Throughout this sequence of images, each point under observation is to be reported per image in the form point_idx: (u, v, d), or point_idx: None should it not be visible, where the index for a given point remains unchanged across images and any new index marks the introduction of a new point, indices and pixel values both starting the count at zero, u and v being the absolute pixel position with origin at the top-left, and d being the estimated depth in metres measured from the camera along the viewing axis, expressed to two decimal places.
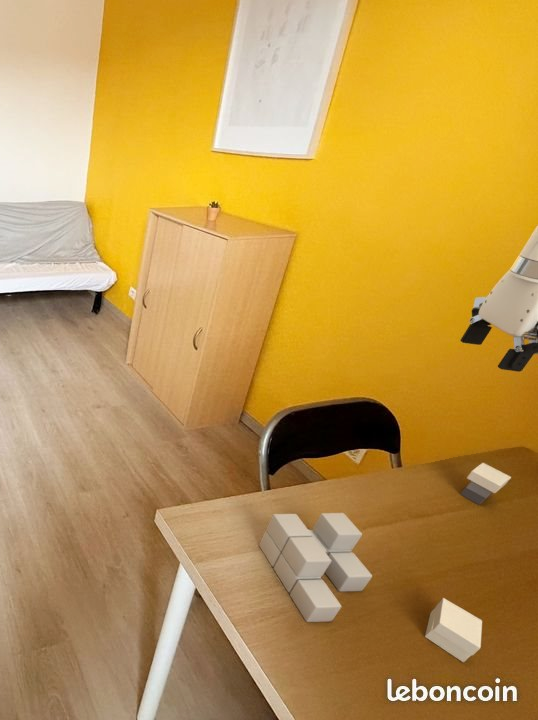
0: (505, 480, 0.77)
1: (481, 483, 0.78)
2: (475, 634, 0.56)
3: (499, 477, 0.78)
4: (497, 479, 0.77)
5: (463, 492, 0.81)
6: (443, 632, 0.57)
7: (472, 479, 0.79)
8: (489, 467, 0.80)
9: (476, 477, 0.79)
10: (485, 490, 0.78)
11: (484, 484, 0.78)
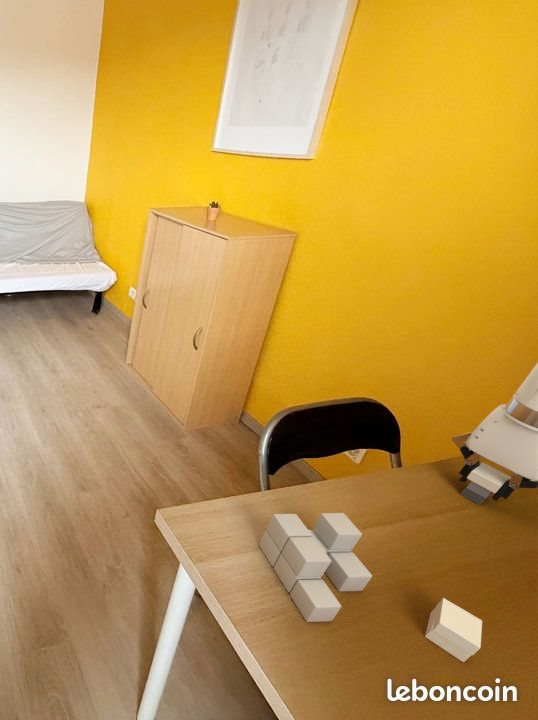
0: (505, 480, 0.77)
1: (481, 483, 0.78)
2: (475, 634, 0.56)
3: (499, 477, 0.78)
4: (497, 479, 0.77)
5: (463, 492, 0.81)
6: (443, 632, 0.57)
7: (472, 479, 0.79)
8: (489, 467, 0.80)
9: (476, 477, 0.79)
10: (485, 490, 0.78)
11: (484, 484, 0.78)
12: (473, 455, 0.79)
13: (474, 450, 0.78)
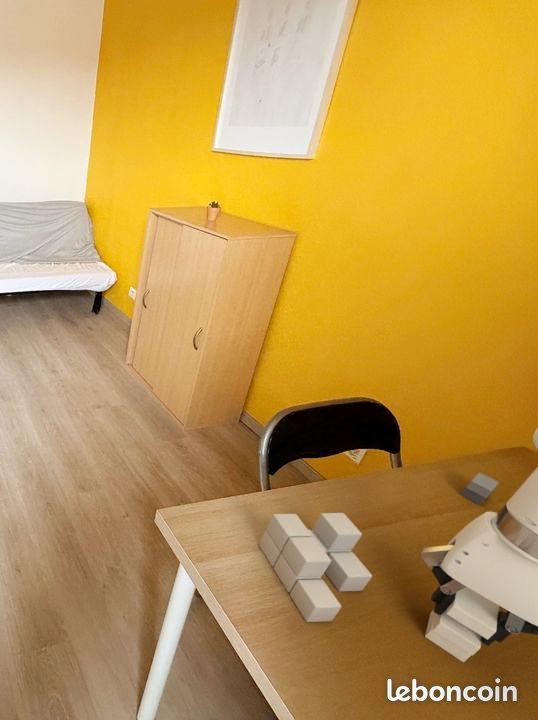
0: (496, 615, 0.54)
1: (468, 623, 0.54)
2: (475, 634, 0.56)
3: (487, 610, 0.55)
4: (487, 616, 0.54)
5: (463, 492, 0.81)
6: (443, 632, 0.57)
7: (454, 616, 0.55)
8: (469, 591, 0.57)
9: (460, 615, 0.55)
10: (485, 490, 0.78)
11: (472, 625, 0.54)
12: (452, 582, 0.55)
13: (455, 578, 0.55)
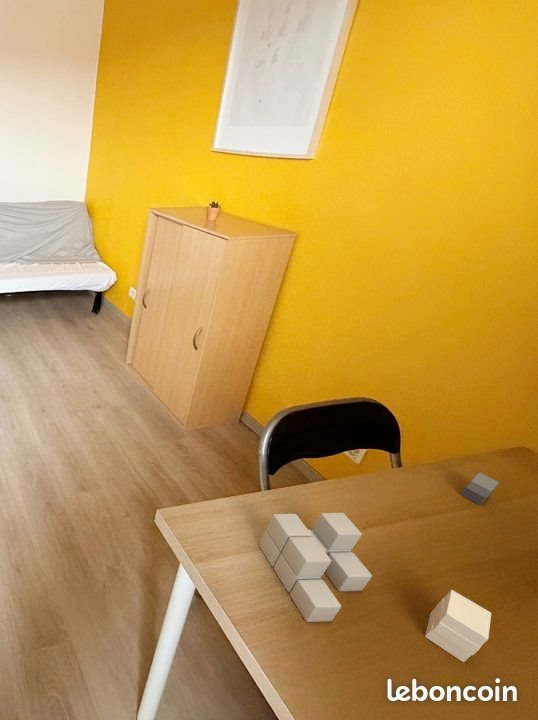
0: (488, 623, 0.55)
1: (460, 631, 0.55)
2: None
3: (480, 618, 0.55)
4: (479, 623, 0.55)
5: (463, 492, 0.81)
6: (443, 632, 0.57)
7: (447, 624, 0.56)
8: (462, 598, 0.58)
9: (453, 623, 0.56)
10: (485, 490, 0.78)
11: (465, 633, 0.55)
12: None
13: None
